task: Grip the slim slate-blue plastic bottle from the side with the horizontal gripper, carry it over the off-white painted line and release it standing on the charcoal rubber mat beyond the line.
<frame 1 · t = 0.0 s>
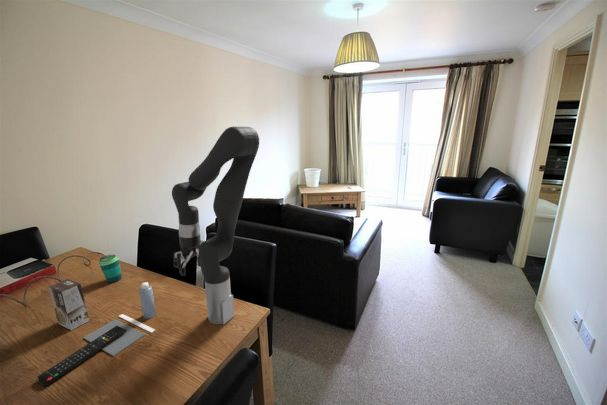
hand: (191, 270, 112), 17 cm above the table, tool pointing down, fingers open, 8 cm apart
coffee box: (74, 322, 107), on the table
foul line: (136, 323, 107), on the table
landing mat: (114, 336, 100), on the table
slim bottle: (149, 315, 111), on the table
remote control: (86, 355, 92), on the table, touching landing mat
cup: (112, 280, 137), on the table
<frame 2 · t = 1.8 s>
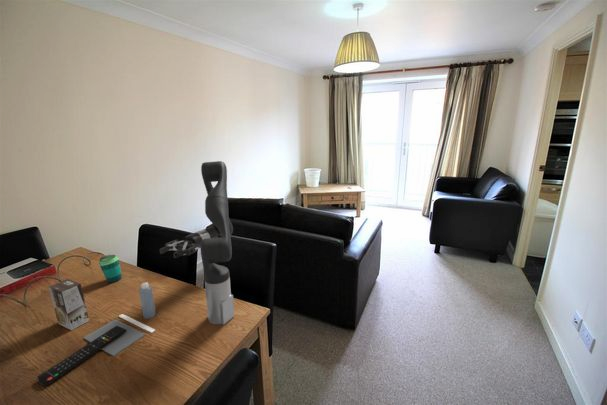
hand: (167, 253, 115), 22 cm above the table, tool horizontal, fingers open, 8 cm apart
nothing on the table moved.
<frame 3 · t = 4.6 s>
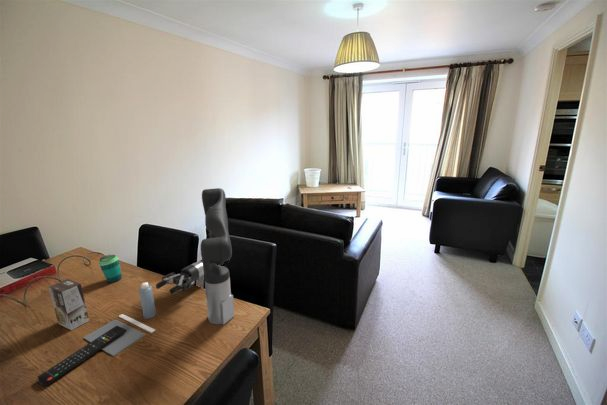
hand: (163, 289, 116), 8 cm above the table, tool horizontal, fingers open, 8 cm apart
nothing on the table moved.
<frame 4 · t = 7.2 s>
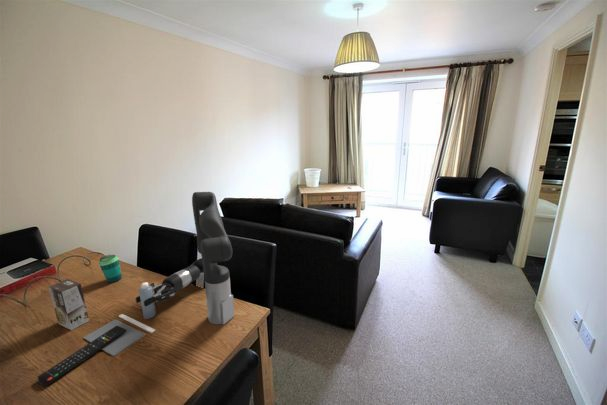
hand: (140, 302, 107), 8 cm above the table, tool horizontal, fingers closed on slim bottle, 4 cm apart
slim bottle: (149, 315, 111), on the table, touching gripper
everything else where it was.
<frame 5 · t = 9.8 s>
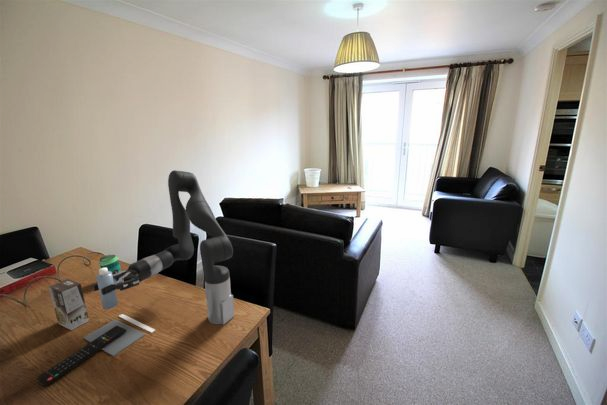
hand: (98, 290, 93), 20 cm above the table, tool horizontal, fingers closed on slim bottle, 4 cm apart
slim bottle: (110, 305, 97), point 12 cm above the table, touching gripper
everything else where it was.
when the fingers open (9 cm above the table, at t = 12.6 s): slim bottle stays where it is, resting on remote control.
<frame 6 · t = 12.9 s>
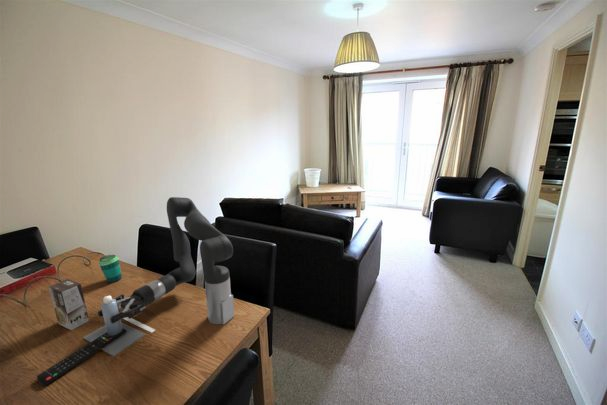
hand: (104, 317, 96), 9 cm above the table, tool horizontal, fingers open, 6 cm apart
slim bottle: (115, 331, 100), point 2 cm above the table, touching remote control
remote control: (86, 355, 92), on the table, touching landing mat, slim bottle
everything else where it was.
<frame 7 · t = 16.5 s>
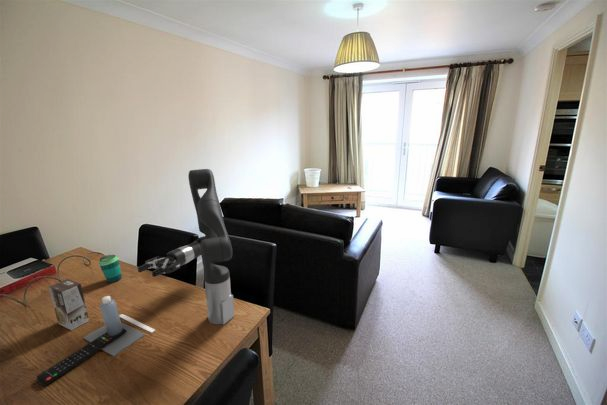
hand: (145, 272, 107), 19 cm above the table, tool horizontal, fingers open, 8 cm apart
remote control: (86, 355, 92), on the table, touching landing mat, slim bottle
everything else where it was.
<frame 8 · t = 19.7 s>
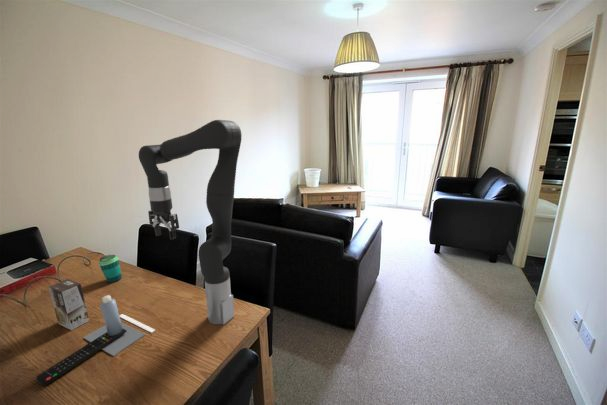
hand: (165, 237, 111), 30 cm above the table, tool pointing down, fingers open, 8 cm apart
nothing on the table moved.
at the end: slim bottle inside the target area (0.4 cm from its centre), point 2.0 cm above the table; slim bottle tilted 4°; the gripper is holding nothing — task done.
